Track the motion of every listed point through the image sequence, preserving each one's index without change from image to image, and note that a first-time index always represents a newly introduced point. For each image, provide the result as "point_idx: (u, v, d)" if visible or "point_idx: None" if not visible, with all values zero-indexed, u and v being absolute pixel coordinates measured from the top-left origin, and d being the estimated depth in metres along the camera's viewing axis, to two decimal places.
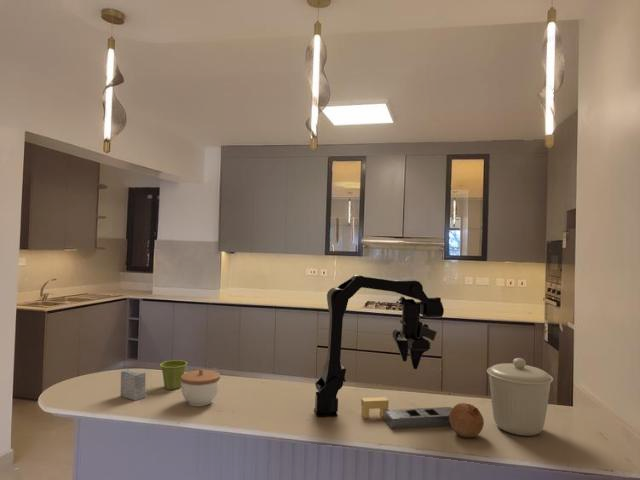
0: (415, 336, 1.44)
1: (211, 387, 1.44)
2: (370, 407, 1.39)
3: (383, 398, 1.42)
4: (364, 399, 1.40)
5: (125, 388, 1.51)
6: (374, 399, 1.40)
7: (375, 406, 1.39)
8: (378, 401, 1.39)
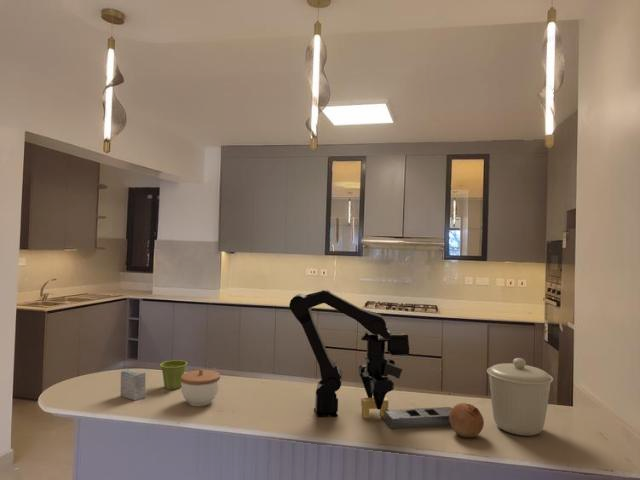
0: (379, 374, 1.38)
1: (211, 387, 1.44)
2: (370, 407, 1.39)
3: None
4: (364, 399, 1.40)
5: (125, 388, 1.51)
6: None
7: (375, 406, 1.39)
8: None
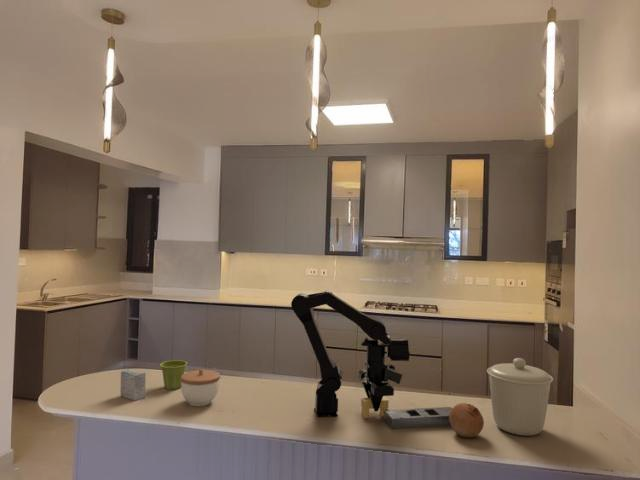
0: (379, 380, 1.38)
1: (211, 387, 1.44)
2: (370, 407, 1.39)
3: (383, 398, 1.42)
4: (364, 399, 1.40)
5: (125, 388, 1.51)
6: None
7: None
8: None
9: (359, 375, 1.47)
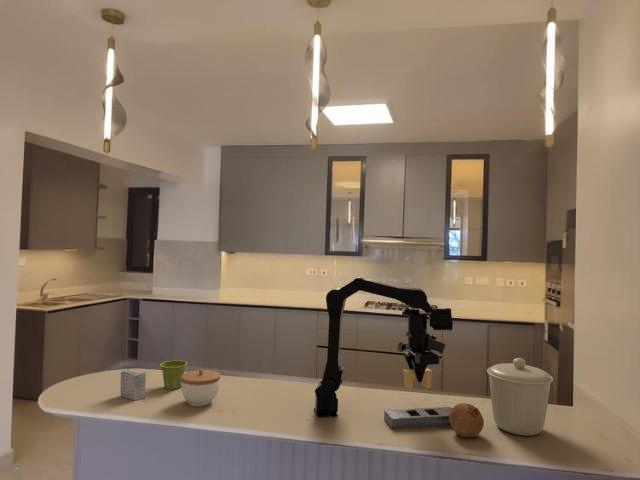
0: (422, 349, 1.34)
1: (211, 387, 1.44)
2: (413, 378, 1.35)
3: (426, 369, 1.38)
4: (407, 370, 1.36)
5: (125, 388, 1.51)
6: None
7: None
8: None
9: (399, 347, 1.44)
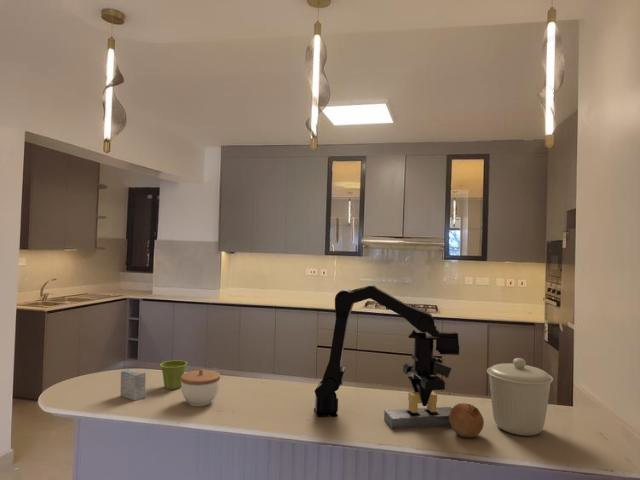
0: (428, 373, 1.33)
1: (211, 387, 1.44)
2: (418, 401, 1.34)
3: (431, 392, 1.37)
4: (412, 393, 1.36)
5: (125, 388, 1.51)
6: None
7: None
8: None
9: (404, 369, 1.43)
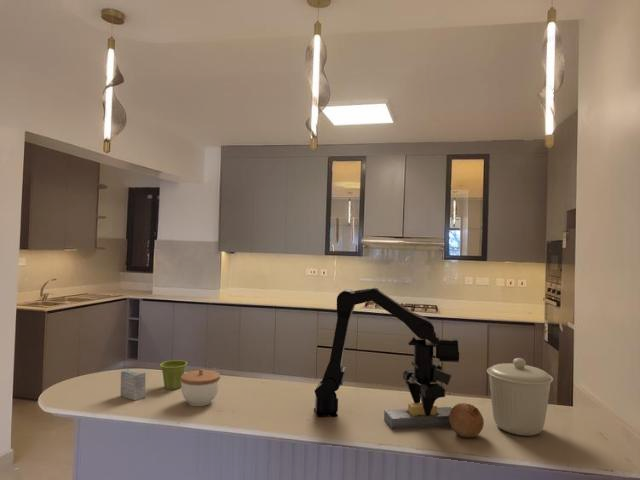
0: (428, 380, 1.33)
1: (211, 387, 1.44)
2: (418, 413, 1.34)
3: None
4: (412, 405, 1.35)
5: (125, 388, 1.51)
6: (422, 405, 1.36)
7: (423, 412, 1.34)
8: None
9: (404, 376, 1.43)
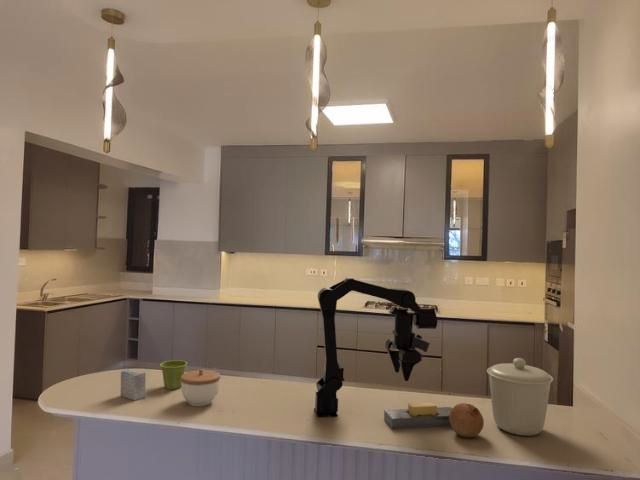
0: (407, 347, 1.41)
1: (211, 387, 1.44)
2: (418, 413, 1.34)
3: (431, 403, 1.37)
4: (412, 405, 1.35)
5: (125, 388, 1.51)
6: (422, 405, 1.36)
7: (423, 412, 1.34)
8: (426, 407, 1.35)
9: (386, 344, 1.51)
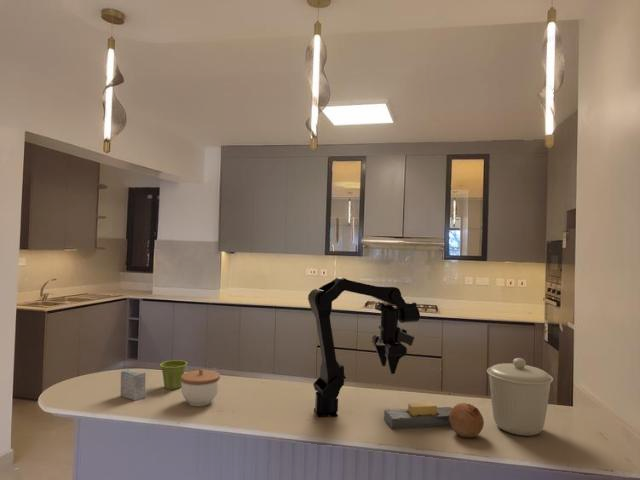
0: (393, 341, 1.47)
1: (211, 387, 1.44)
2: (418, 413, 1.34)
3: (431, 403, 1.37)
4: (412, 405, 1.35)
5: (125, 388, 1.51)
6: (422, 405, 1.36)
7: (423, 412, 1.34)
8: (426, 407, 1.35)
9: (373, 339, 1.57)
